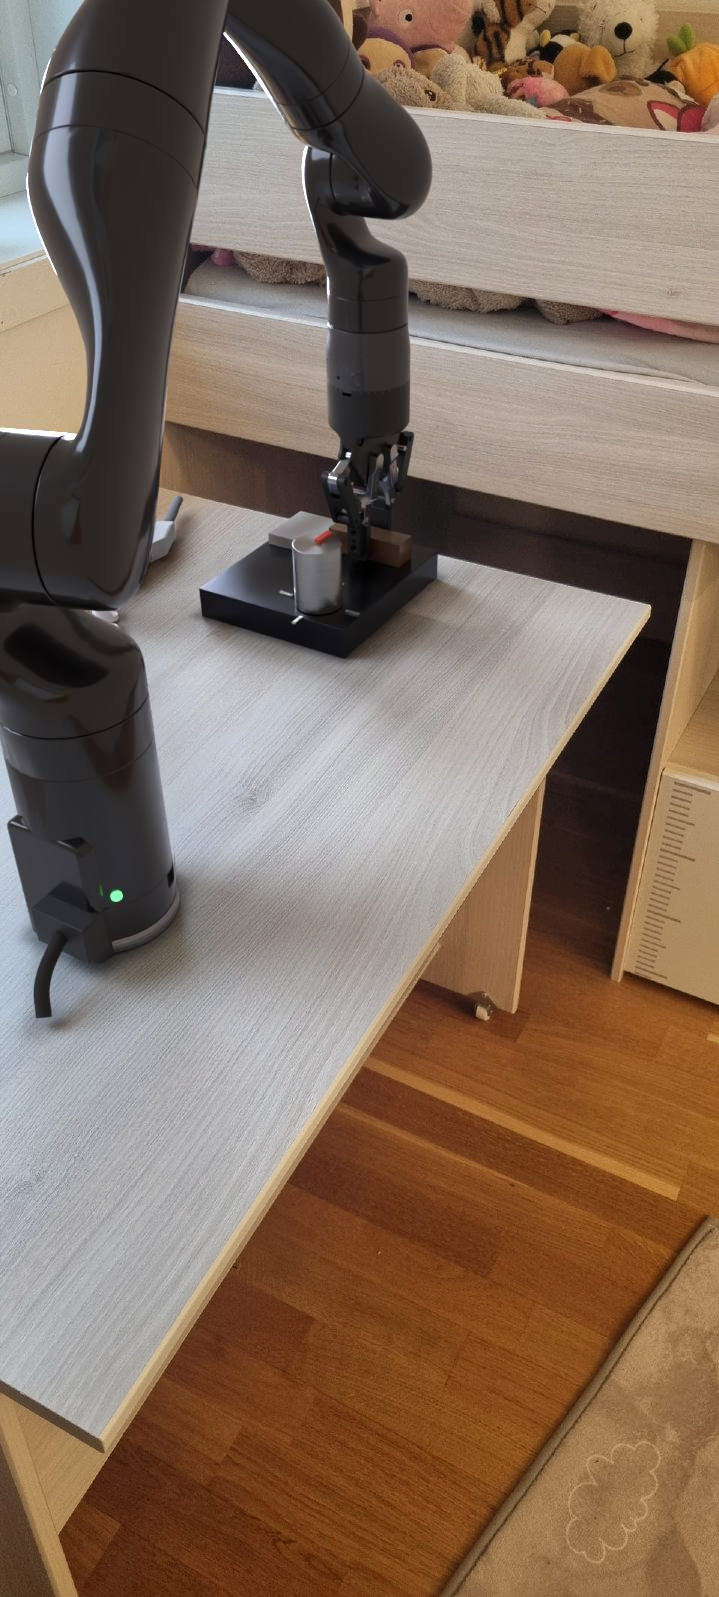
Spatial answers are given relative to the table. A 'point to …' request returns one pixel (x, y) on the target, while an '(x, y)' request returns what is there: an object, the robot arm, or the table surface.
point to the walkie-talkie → (165, 531)
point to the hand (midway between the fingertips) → (369, 549)
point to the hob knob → (317, 573)
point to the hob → (267, 606)
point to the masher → (344, 537)
